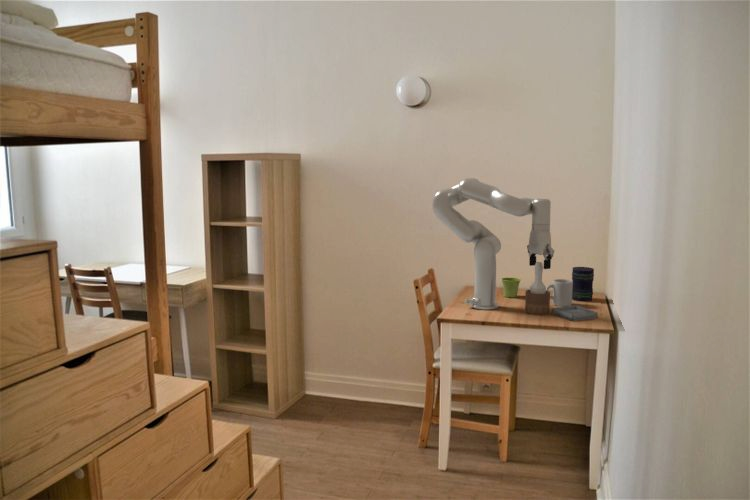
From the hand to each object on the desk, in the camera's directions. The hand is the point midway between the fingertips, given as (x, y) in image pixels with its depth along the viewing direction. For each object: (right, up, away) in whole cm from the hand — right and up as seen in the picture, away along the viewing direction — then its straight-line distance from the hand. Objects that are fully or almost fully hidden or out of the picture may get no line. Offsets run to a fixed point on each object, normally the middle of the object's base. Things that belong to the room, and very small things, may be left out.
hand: (539, 267), depth 255 cm
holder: (0, -20, +3) cm, 20 cm away
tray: (+14, -21, -4) cm, 25 cm away
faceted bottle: (0, -20, +3) cm, 20 cm away
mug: (+13, -18, +17) cm, 28 cm away
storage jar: (+28, -16, +27) cm, 42 cm away
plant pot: (-5, -16, +33) cm, 37 cm away
